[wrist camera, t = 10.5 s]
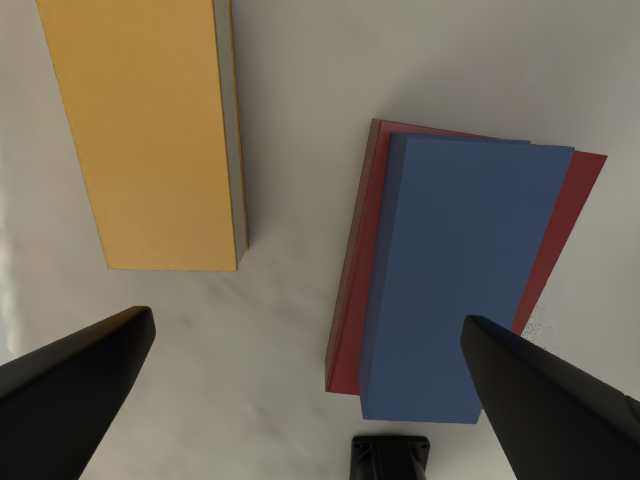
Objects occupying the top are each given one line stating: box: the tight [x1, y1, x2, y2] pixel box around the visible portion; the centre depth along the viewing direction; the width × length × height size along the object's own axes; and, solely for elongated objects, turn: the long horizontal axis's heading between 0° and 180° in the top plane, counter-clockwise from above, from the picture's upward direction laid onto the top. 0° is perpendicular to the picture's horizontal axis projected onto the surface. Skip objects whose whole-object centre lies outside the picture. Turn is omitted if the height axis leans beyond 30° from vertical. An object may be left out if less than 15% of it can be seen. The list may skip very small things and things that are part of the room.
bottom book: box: [325, 119, 608, 409], centre depth 19 cm, size 17×11×3 cm, turn 172°
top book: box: [36, 0, 249, 271], centre depth 16 cm, size 13×7×3 cm, turn 179°
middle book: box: [357, 132, 575, 424], centre depth 16 cm, size 15×6×3 cm, turn 177°
